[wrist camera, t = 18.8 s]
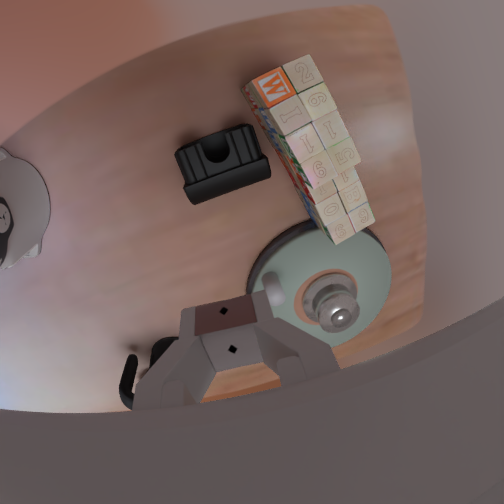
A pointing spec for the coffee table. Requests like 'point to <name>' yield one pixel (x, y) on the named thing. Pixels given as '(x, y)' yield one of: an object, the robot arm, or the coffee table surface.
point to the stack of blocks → (312, 145)
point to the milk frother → (131, 368)
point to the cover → (331, 302)
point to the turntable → (319, 263)
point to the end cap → (222, 163)
